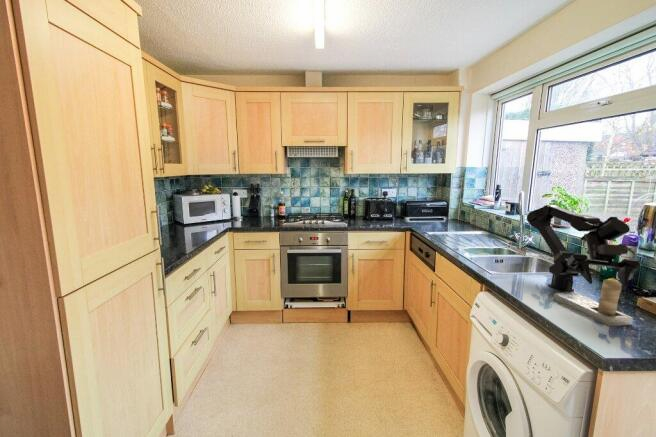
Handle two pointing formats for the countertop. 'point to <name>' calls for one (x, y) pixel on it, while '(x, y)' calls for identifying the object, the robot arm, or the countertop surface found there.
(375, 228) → the countertop surface
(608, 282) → the peg
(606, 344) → the countertop surface
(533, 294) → the countertop surface
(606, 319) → the beige slotted board
